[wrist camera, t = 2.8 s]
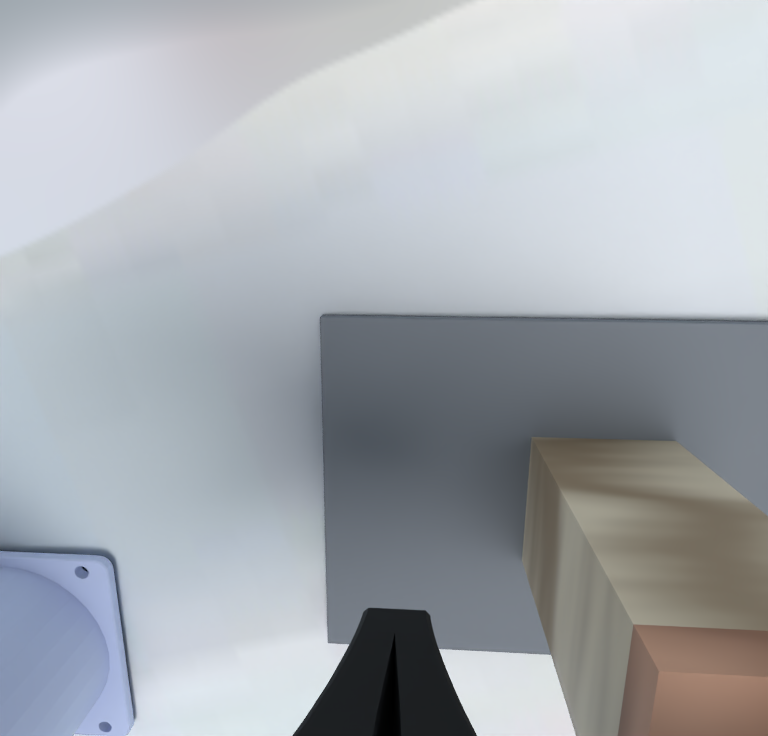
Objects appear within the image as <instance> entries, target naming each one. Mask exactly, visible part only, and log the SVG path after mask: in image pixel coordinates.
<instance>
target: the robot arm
mask: <svg viewBox="0 0 768 736" xmlns="http://www.w3.org/2000/svg"><path fill="white" fill-rule="evenodd" d="M81 566H82V567H85V568H86V569H87V570H88V572H86V571H84V570H83V569H82V567H81ZM133 725H134V717H133V709H132V702H131V694H130V687H129V680H128V672H127V665H126V658H125V650H124V643H123V635H122V628H121V621H120V613H119V606H118V598H117V591H116V584H115V576H114V569H113V565H112V563H111V562H110V561H109V559H107V558H105V557H104V556H99V555H78V554H55V553H32V552H8V551H0V736H73V735H74V734H82V735H97V736H125V735H127V734H128V733H129V732H130V730H131V728H132V727H133ZM293 736H477V735H476V733H475V731H474V729H473V727H472V725H471V723H470V721H469V719H468V717H467V715H466V713H465V711H464V709H463V707H462V705H461V703H460V700H459V698H458V696H457V694H456V691H455V689H454V687H453V684H452V682H451V680H450V677H449V675H448V673H447V670H446V668H445V665H444V662H443V660H442V657H441V654H440V651H439V648H438V645H437V642H436V639H435V635H434V632H433V628H432V623H431V616H430V614H429V613H428V612H427V611H426V610H409V609H388V608H367V609H366V610H365V611H364V612H363V614H362V617H361V620H360V623H359V625H358V628H357V630H356V632H355V634H354V636H353V639H352V641H351V643H350V645H349V646H348V648H347V650H346V652H345V654H344V656H343V658H342V660H341V661H340V663H339V665H338V667H337V668H336V670H335V672H334V674H333V675H332V677H331V679H330V681H329V682H328V684H327V686H326V687H325V689H324V690H323V692H322V693H321V695H320V696H319V698H318V699H317V701H316V703H315V704H314V706H313V707H312V709H311V710H310V712H309V713H308V715H307V716H306V718H305V719H304V721H303V722H302V723H301V725H300V726H299V727H298V729H297V730H296V732H295V733H294V734H293Z"/></svg>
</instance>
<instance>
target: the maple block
mask: <svg viewBox="0 0 768 736" xmlns="http://www.w3.org/2000/svg"><path fill="white" fill-rule="evenodd" d="M522 562H523V566H524V569H525V572H526V575H527V579H528V582H529V585H530V588H531V591H532V595H533V598H534V601H535V604H536V608H537V611H538V614H539V617H540V620H541V624H542V627H543V630H544V633H545V636H546V640H547V643H548V646H549V649H550V653H551V656H552V659H553V662H554V665H555V669H556V672H557V675H558V678H559V682H560V685H561V688H562V691H563V694H564V698H565V701H566V704H567V707H568V710H569V714H570V717H571V720H572V723H573V727H574V730H575V733H576V736H768V516H767V515H766V514H765V513H763V512H762V511H761V510H760V509H758V508H757V507H756V506H755V505H754V504H752V503H751V502H750V501H749V500H747V499H746V498H745V497H744V496H743V495H741V494H740V493H739V492H738V491H737V490H735V489H734V488H733V487H732V486H730V485H729V484H728V483H727V482H726V481H724V480H723V479H722V478H721V477H719V476H718V475H717V474H716V473H715V472H713V471H712V470H711V469H710V468H708V467H707V466H706V465H705V464H704V463H702V462H701V461H700V460H699V459H697V458H696V457H695V456H694V455H693V454H691V453H690V452H689V451H688V450H687V449H685V448H684V447H683V446H682V445H680V444H679V443H678V442H677V441H655V440H620V439H585V438H549V437H532V438H531V451H530V464H529V477H528V489H527V502H526V515H525V528H524V540H523V553H522Z"/></svg>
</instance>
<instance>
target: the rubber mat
mask: <svg viewBox="0 0 768 736" xmlns="http://www.w3.org/2000/svg"><path fill="white" fill-rule="evenodd" d="M320 335H321V376H322V418H323V459H324V501H325V543H326V584H327V626H328V643H336V644H350V643H351V641H352V639H353V636H354V634H355V632H356V630H357V628H358V625H359V623H360V620H361V617H362V614H363V612H364V611H365V610H366V609H367V608H388V609H409V610H426V611H427V612H428V613H429V614H430V616H431V623H432V628H433V632H434V635H435V639H436V642H437V645H438V648H439V649H452V650H471V651H491V652H510V653H529V654H548V655H551V653H550V649H549V646H548V643H547V640H546V636H545V633H544V630H543V627H542V624H541V620H540V617H539V614H538V611H537V608H536V604H535V601H534V598H533V595H532V591H531V588H530V585H529V582H528V579H527V575H526V572H525V569H524V566H523V562H522V553H523V540H524V528H525V515H526V502H527V489H528V477H529V464H530V451H531V438H532V437H549V438H585V439H620V440H655V441H677V442H678V443H679V444H680V445H682V446H683V447H684V448H685V449H687V450H688V451H689V452H690V453H691V454H693V455H694V456H695V457H696V458H697V459H699V460H700V461H701V462H702V463H704V464H705V465H706V466H707V467H708V468H710V469H711V470H712V471H713V472H715V473H716V474H717V475H718V476H719V477H721V478H722V479H723V480H724V481H726V482H727V483H728V484H729V485H730V486H732V487H733V488H734V489H735V490H737V491H738V492H739V493H740V494H741V495H743V496H744V497H745V498H746V499H747V500H749V501H750V502H751V503H752V504H754V505H755V506H756V507H757V508H758V509H760V510H761V511H762V512H763V513H765V514H766V515H767V516H768V322H766V321H700V320H634V319H569V318H503V317H437V316H371V315H323V316H321V317H320Z"/></svg>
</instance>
